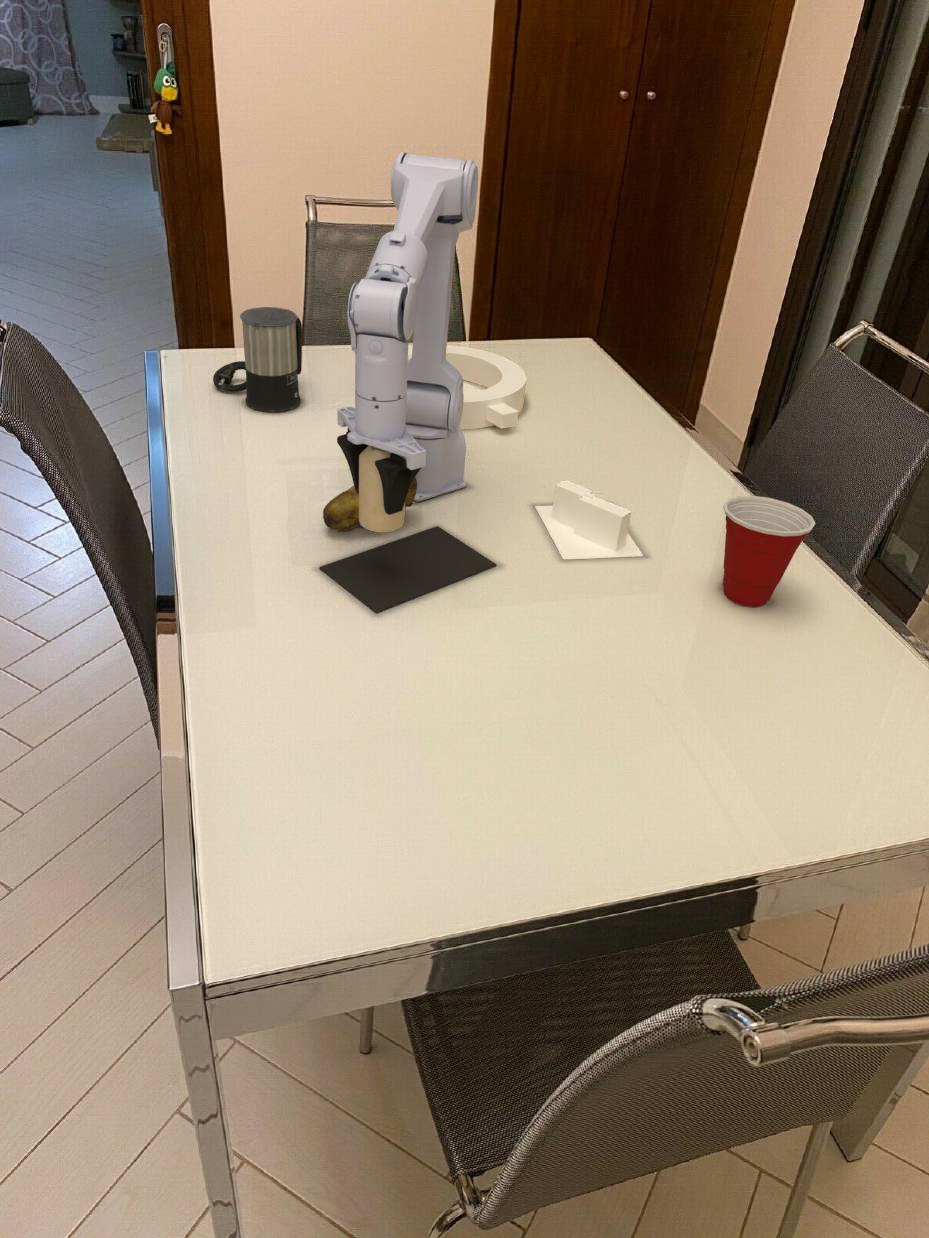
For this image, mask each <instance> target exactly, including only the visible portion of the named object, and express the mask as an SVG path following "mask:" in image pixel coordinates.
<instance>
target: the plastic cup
mask: <svg viewBox="0 0 929 1238" xmlns="http://www.w3.org/2000/svg"><path fill="white" fill-rule="evenodd" d="M722 505H723V511H724V514H725V539H724V554H723V555H724V556H723V577H722V591H723V595H724V597H726V599H728V601H731V602H732V603H734V604H736V605H738V606H741V607H745V608H746V607H747V608H760V607H763V606H765V605H767V604H768V602H769V601H770V600H771V598H772V596H773V594H774V592H775V590H776V588H777V586H778V585H779V584H780V582H781V580H782V579H783V577H784V575H785V573H786V571H787V568H788V567H789V565H790V563H791V561H792V559H793V558H794V555H795V553H796V552H797V550H798V549H799V547H800V545H801V543H802V542H803V541H804V539H805V537H806V536H807V535H808V534H809V533H810V532H811V531H812V530H813V528H814V527H815V525H816V524H817V523H816V521H815V520H814V518H813V515H810V513H808V512H807V511H805V510H804V509H803V508H800V507H798V506H797V505H794V504H792V503H790V502H787V501H784V500H779V499H775V498H772V497H765V496H758V495H738V496H734V497H731V498H727V500H726V501H725V502H724V503H723V504H722Z"/></svg>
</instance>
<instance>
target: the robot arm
mask: <svg viewBox="0 0 929 1238" xmlns="http://www.w3.org/2000/svg"><path fill="white" fill-rule="evenodd" d="M475 162H476V161H475V160H474V159H470V158H468V159H467V160H466V159H459V158H458V159H457V158H450V157H449V158H448V157H438V156H430V155H420V154H414V153H413V154H411V153H407V152H406V151H401V152H399V153H398V155H397V156H395V158H394V161H393V162H392V163H393V164H392V166H391V167H392V168H391V172H390V173H391V174H390V196H391V197H390V198H391V200H392V203H393V204H394V207H395V209H396V210H397V214H396V218H395V223H394V227H393V230H391V231H389V232H386V233H384V235H382V236H381V238H380V239H379V241H378V244H377V246H376V248H375V251H374V254H373V257H372V259H371V261H370V264H369V267H368V270H367V272H366V275H365V277H364V278H361V279H360V281H359V282H356V281H355V282H354V283H353V284H352V285H351V288H350V290H349V295H348V302H347V325H348V326H347V327H348V329H349V333H350V334H349V335H350V347H351V351H352V352H354V356H355V357H354V406H352V405H350V406H345V407H342V408H337V413H336V414H337V418H336V419H337V425H338V426H339V427H340V428H341V427H342V428H346V427H347V431H345V433H344V434H340V435H338V436H337V438H336V443H337V445H338V446H339V448H340V449H341V451H342V453H343V455H344V457H345V459H346V462H347V464H348V468H349V472H350V475H351V479H352V483H353V486H354V487H355V490H356V493H358V494H359V455H360V453H361V452H362V451H364V450H365V449H366V448H367V447H368V446H373V447H376V448H379V449H382V450H385V451H388V452H390V458H389V457H388V458H384V459H381V460H377V461H375V466H376V468H377V470H378V472H379V475H380V478H381V482H382V487H383V502H384V509H385V512H386V513H387V514H388V515H391V514H394V513H397V512H400V511H402V510H403V506H404V503H405V500H406V497H407V494H408V491H409V489H410V486H411V484H412V482H413V480H414V478H415V477H416V480H417V490H416V495H415V498H414V499H413V501H415V502H417V503H419V502H422V501H425V500H428V499H432V498H435V497H438V496H440V495H444V494H447V493H450V492H453V491H456V490H460V489H462V488H466V487H467V486H468V483H467V482H466V481H465V480H464V479H465V466H466V465H465V463H466V454H467V453H466V452H467V442H466V437H465V434H464V432H463V429H461V428H460V427H459V425H460V422H461V418H462V412H463V403H464V394H463V383H464V382H465V380H463V379H462V378H463V377H462V375H461V374H460V373H459V372H458V371H457V370H456V369H455V368H454V367H453V366H452V365H451V364H450V363H449V362H448V361H447V360H446V347H447V345H448V334H449V325H450V324H449V323H450V312H451V301H452V299H451V298H452V291H453V278H454V267H455V266H454V265H455V253H456V246H457V243H458V240H459V236H460V234H461V233H463V232H466V231H469V230H472V229H473V226H474V222H475V219H476V213H477V212H476V210H477V209H476V208H477V200H478V188H479V168H478V165H477V164H476V163H475ZM412 335H413V336H412ZM411 337H412V346H413V348H412V358H411V359H409V360H408V346H410V344H409V342H410V341H409V340H410V339H411Z"/></svg>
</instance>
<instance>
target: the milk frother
mask: <svg viewBox="0 0 929 1238" xmlns="http://www.w3.org/2000/svg"><path fill="white" fill-rule="evenodd" d="M239 318H240V320H241V321H242V324H241V325H242V337H243V352H244V360H239V361H234V362H230V363H228V364H227V363H226V364H224V365H223V366H222V367H220V368H218V369H217V370H216V371H215V372H214V374H213V376H212V382H213V385H214V386H215V388H217V389H219V390H221V391H224V392H228V393H238V392H243V391H246V397H245V399H244V400H245V404H246V405H247V406H248V407H249V408H251V409H253V410H257V411H261V412H265V413H266V412H268V413H275V412H276V413H279V412H287V411H290V410H291V411H292V410H293V409H296V408H297V407H298V406H299V405H301V402H302V401H301V396H300V390H299V389H300V387H299V375H301V373H302V370H303V369H302V367H303V365H302V364H303V323H302V321H301V319H300V317H299V316H298V315H297V313H296V312H295V311H292V310H291V309H287V308H282V307H275V306H274V307H273V306H262V307H261V306H260V307H251V308H248V309H246V310H244V311H242V312H241V313H240V314H239ZM240 370H241V371H242V370H244V371H245V381H244V382H242V383H238V384H232V382H233V381H232V380H233V379H234V375H235V374H236V371H240Z"/></svg>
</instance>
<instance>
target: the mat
mask: <svg viewBox="0 0 929 1238" xmlns="http://www.w3.org/2000/svg"><path fill="white" fill-rule="evenodd" d="M497 566H498V565H497V563H495V562H494V561H493V560H491V559H489V558H488V557H486V556H484V555H483V554H482V553H480V552H479V551H477V550H476V549H474V548H472V547H471V546H469V545H468V544H466V543H465V542H463V541H462V540H460V539H459V538H457V537H455V536H454V535H453V534H451V533H449V532H447V531H446V530H445V529H443V528H441V527H440V526H439V525H437V526H434V527H430V528H428V529H424V530H422V531H419V532H416V533H412V534H411V535H408V536H404V537H402V538H399V539H395V540H394V541H389V542H387V543H385V544H381V545H378V546H375V547H372V548H370V549H367V550H364V551H361V552H358V553H356V554H354V555H349V556H347V557H344V558H341V559H339V560H335V561H332V562H329V563H326V564H324V565H320V566H319V570H320V571H321V572H323V573H324V574H326V576H328V577H329V578H330V579H332V580H333V581H334V582H335V583H337V584H338V585H339V586H341V588H343V589H344V590H346V591H347V592H348V593H349V594H351V595H352V596H353V597H355V598H356V599H357V600H358V601H360V602H361V603H362V604H363V605H365V606H366V607H367V608H368V609H370V610H371V611H372V612H374V613H375V614H379V613H382V612H384V611H386V610H389V609H392V608H394V607H396V606H399V605H402V604H404V603H407V602H410V601H412V600H415V599H417V598H419V597H422V596H425V595H427V594H430V593H433V592H434V591H437V590H440V589H442V588H444V587H447V586H451V585H452V584H455V583H458V582H460V581H463V580H465V579H467V578H470V577H473V576H475V575H477V574H480V573H483V572H486V571H488V570H490V569H493V568H496V567H497Z"/></svg>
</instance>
